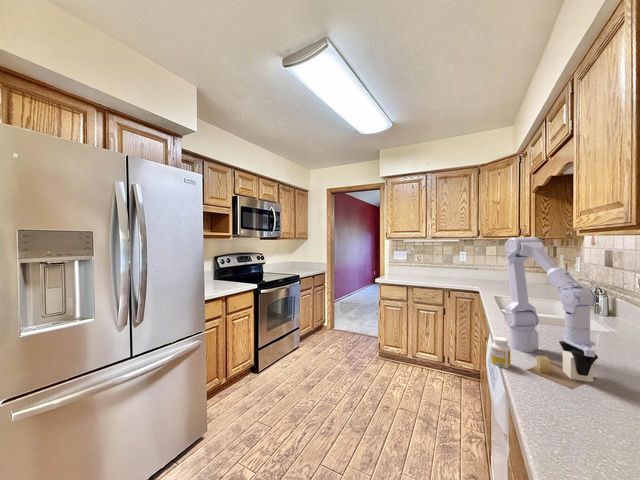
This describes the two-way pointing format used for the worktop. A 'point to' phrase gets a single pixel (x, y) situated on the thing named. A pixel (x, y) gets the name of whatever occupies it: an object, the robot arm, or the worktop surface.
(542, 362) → the post
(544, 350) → the worktop surface
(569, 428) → the worktop surface
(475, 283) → the worktop surface
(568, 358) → the cream rectangular block
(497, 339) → the supplement bottle
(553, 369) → the board
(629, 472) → the worktop surface
